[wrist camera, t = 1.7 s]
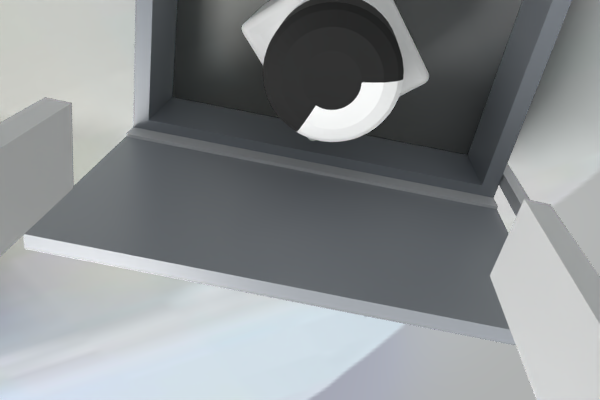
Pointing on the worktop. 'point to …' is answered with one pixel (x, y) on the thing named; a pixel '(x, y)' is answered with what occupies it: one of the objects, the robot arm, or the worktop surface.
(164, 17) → the case
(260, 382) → the worktop surface
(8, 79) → the worktop surface
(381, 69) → the container
